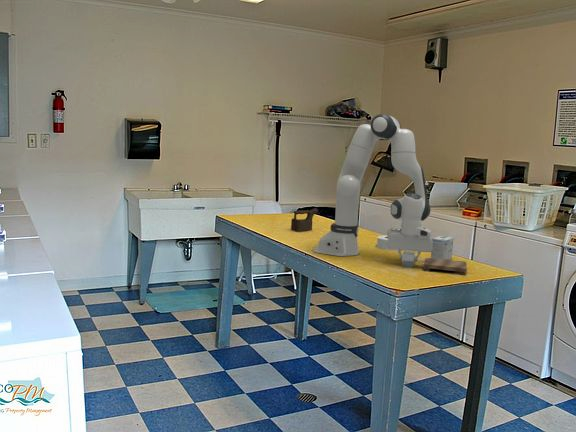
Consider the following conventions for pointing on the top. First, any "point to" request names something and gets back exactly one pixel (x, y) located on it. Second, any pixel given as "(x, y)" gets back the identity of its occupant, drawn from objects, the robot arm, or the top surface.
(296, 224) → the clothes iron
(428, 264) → the stand
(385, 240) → the roll of tape
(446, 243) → the light bulb box
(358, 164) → the robot arm
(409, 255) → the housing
